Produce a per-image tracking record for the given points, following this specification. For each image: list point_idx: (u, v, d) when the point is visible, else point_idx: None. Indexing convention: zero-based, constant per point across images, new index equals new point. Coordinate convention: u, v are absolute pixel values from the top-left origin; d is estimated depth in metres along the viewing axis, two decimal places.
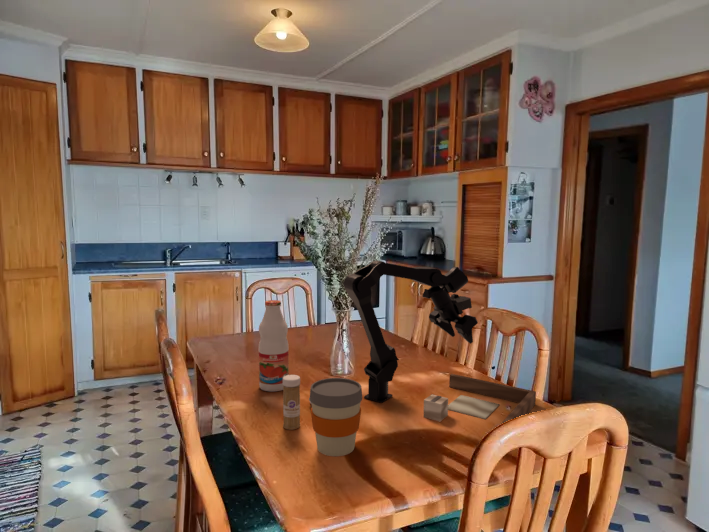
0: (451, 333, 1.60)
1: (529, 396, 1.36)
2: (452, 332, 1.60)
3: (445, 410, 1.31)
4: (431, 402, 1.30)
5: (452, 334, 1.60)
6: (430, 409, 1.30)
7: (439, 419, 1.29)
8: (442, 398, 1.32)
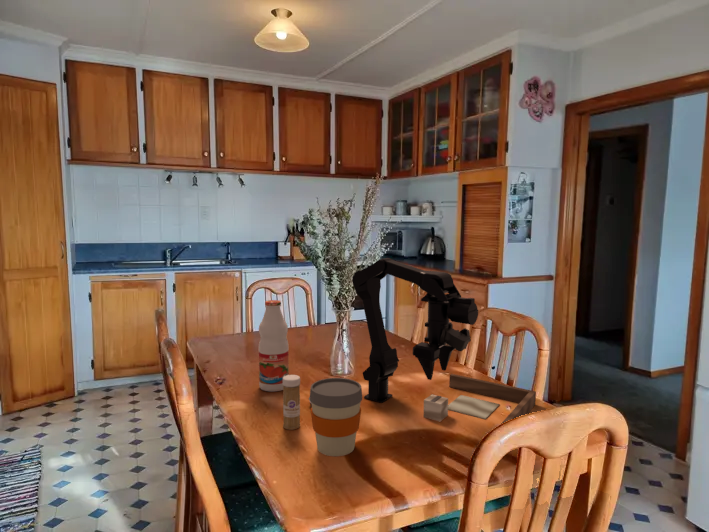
0: (442, 364, 1.34)
1: (529, 396, 1.36)
2: (443, 364, 1.34)
3: (445, 410, 1.31)
4: (431, 402, 1.30)
5: (442, 366, 1.34)
6: (430, 409, 1.30)
7: (439, 419, 1.29)
8: (442, 398, 1.32)
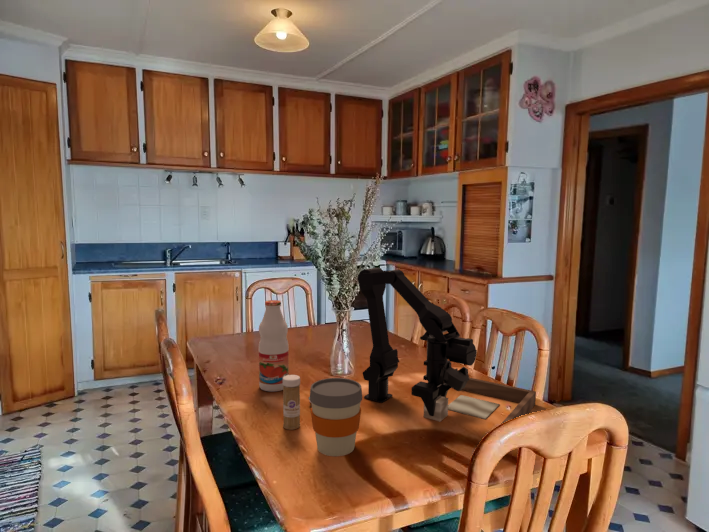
0: None
1: (529, 396, 1.36)
2: None
3: (445, 410, 1.31)
4: None
5: None
6: None
7: (439, 419, 1.29)
8: (442, 398, 1.32)
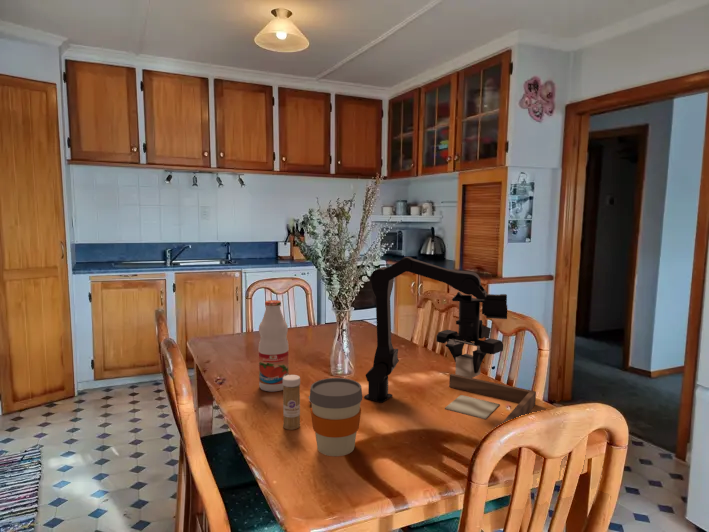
0: None
1: (529, 396, 1.36)
2: None
3: None
4: None
5: None
6: None
7: (479, 372, 1.35)
8: (466, 355, 1.37)
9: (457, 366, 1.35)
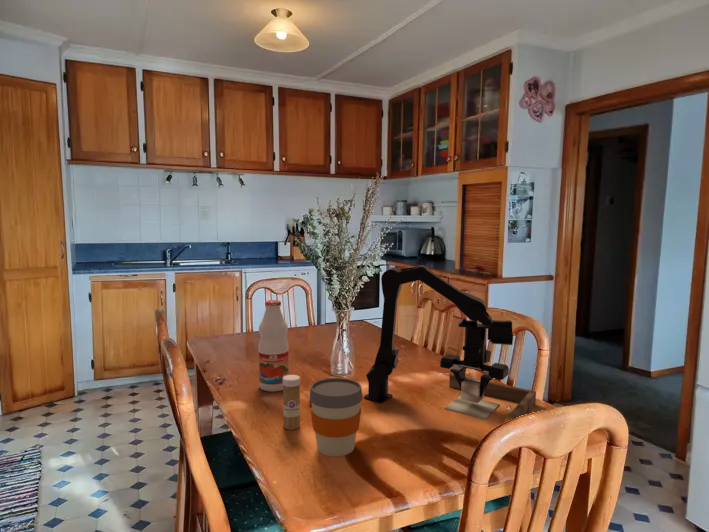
0: None
1: (529, 396, 1.36)
2: None
3: None
4: None
5: None
6: None
7: (483, 395, 1.38)
8: (469, 379, 1.39)
9: (463, 391, 1.37)
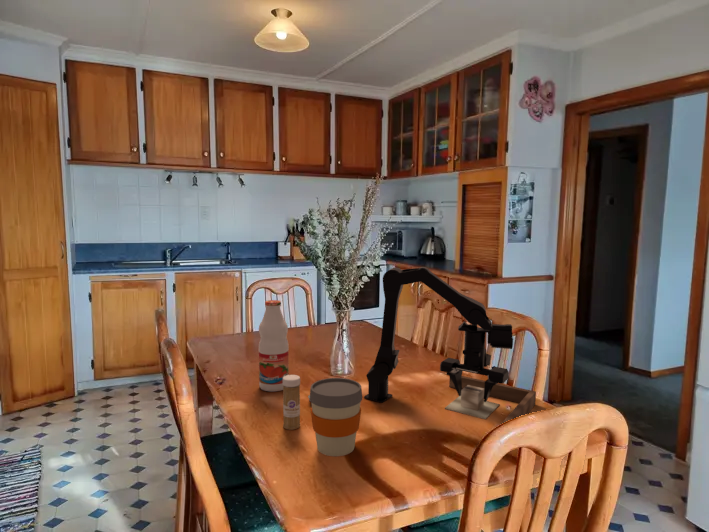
0: (460, 391, 1.40)
1: (529, 396, 1.36)
2: (460, 390, 1.40)
3: None
4: (480, 392, 1.36)
5: (460, 392, 1.40)
6: (480, 399, 1.36)
7: (483, 403, 1.39)
8: (469, 386, 1.40)
9: (463, 399, 1.37)
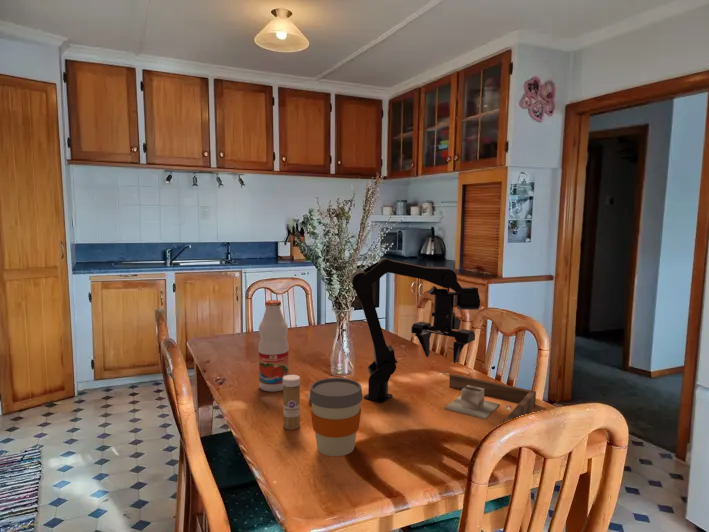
0: (427, 352, 1.47)
1: (529, 396, 1.36)
2: (428, 351, 1.47)
3: None
4: (480, 392, 1.36)
5: (427, 353, 1.47)
6: (480, 399, 1.36)
7: (483, 403, 1.39)
8: (469, 386, 1.40)
9: (463, 399, 1.37)
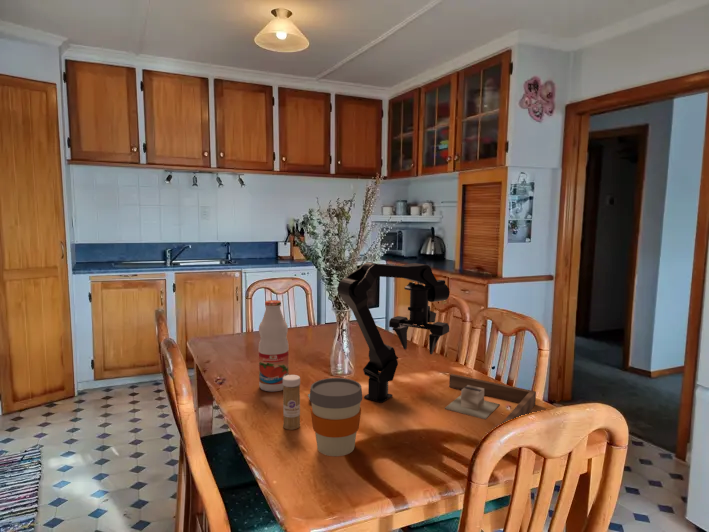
0: (405, 345, 1.54)
1: (529, 396, 1.36)
2: (405, 344, 1.54)
3: None
4: (480, 392, 1.36)
5: (405, 346, 1.54)
6: (480, 399, 1.36)
7: (483, 403, 1.39)
8: (469, 386, 1.40)
9: (463, 399, 1.37)
